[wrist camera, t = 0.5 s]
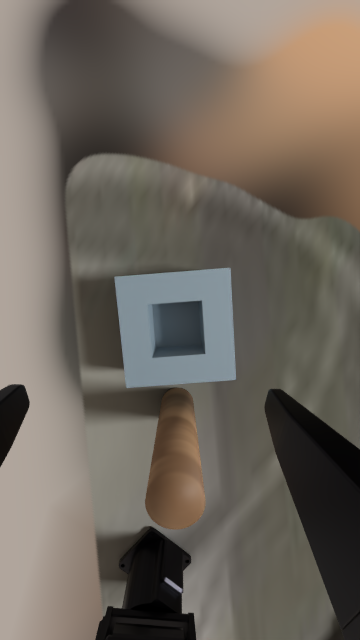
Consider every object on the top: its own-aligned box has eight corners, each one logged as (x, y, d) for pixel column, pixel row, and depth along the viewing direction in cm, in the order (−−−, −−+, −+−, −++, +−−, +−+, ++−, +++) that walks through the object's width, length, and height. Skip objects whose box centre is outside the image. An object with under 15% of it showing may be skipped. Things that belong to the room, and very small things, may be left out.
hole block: (225, 363, 27) (236, 379, 22) (136, 370, 27) (126, 387, 22) (220, 272, 26) (230, 267, 21) (127, 279, 26) (114, 276, 21)
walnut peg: (179, 423, 28) (178, 540, 15) (155, 404, 27) (132, 505, 14) (199, 401, 27) (217, 499, 14) (175, 381, 27) (171, 463, 14)
